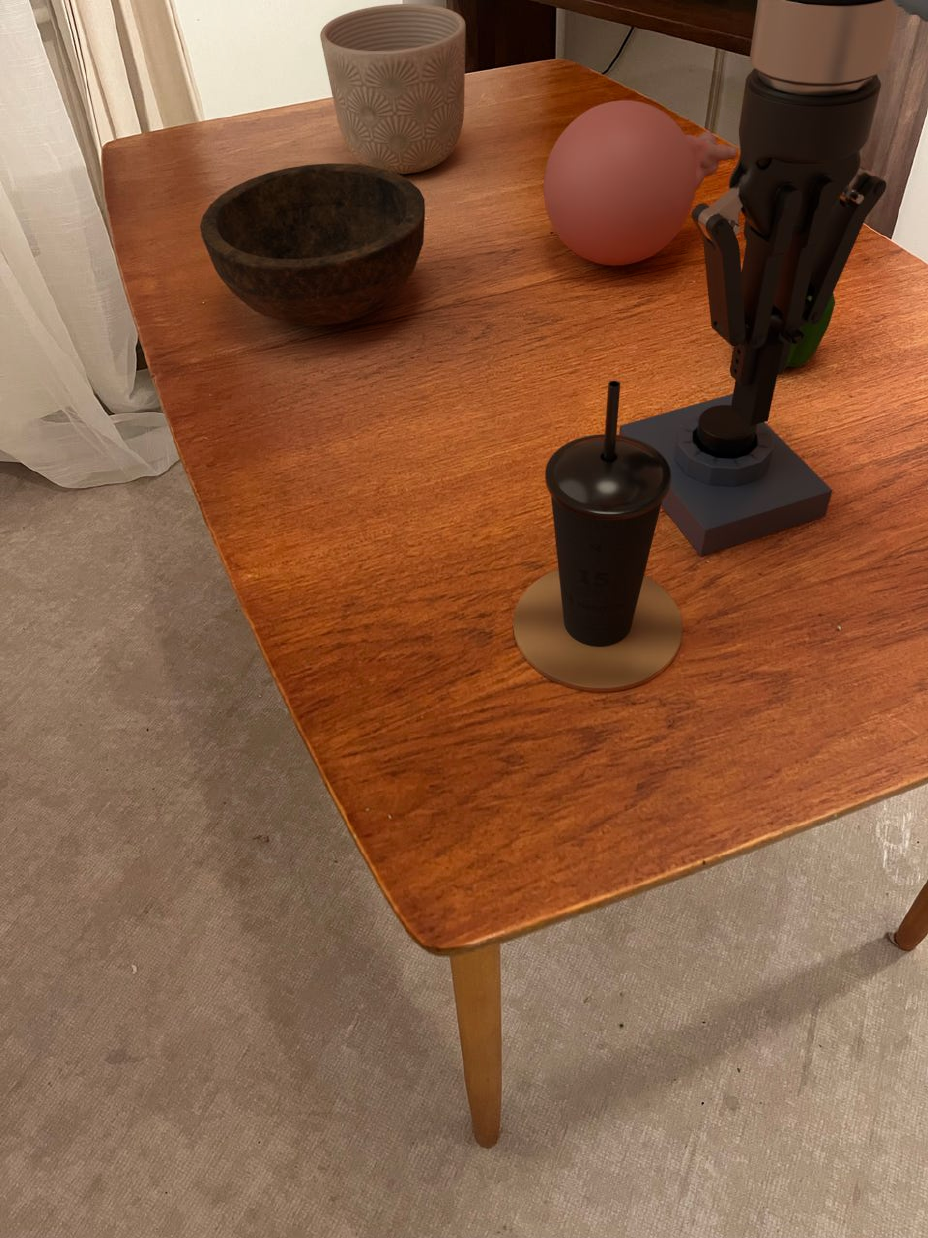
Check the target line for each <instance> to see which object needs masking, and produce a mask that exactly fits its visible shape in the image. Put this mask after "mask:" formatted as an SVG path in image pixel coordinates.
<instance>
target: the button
mask: <svg viewBox="0 0 928 1238" xmlns="http://www.w3.org/2000/svg"><path fill="white" fill-rule="evenodd" d="M756 429H757V424H756V425H752V426H750V425H749V424H748V423H747V422H746V421H745V420H744V419H743V418H742V417H741V416H740V415H739V414H738V413H737V412H736V411H735V410H734V409H733V408H732V407H731V405H718V406H713V407H710V408H708V409H706V410H705V411H704V412H703V413H702V414H701V415H700V417H699V422H698V429H697V435H696V444H697V446H698V448H699V449H700V450H701V451H702V452H704V453H706V454H709V455H711V456H713V457H716V458H727V459H736V458H739V457H742V456H745V455H747V454H748V453H749V452H750V451H751V450H752V448H753V443H754V439H755V434H756Z"/></svg>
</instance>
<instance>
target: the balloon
mask: <svg viewBox="0 0 928 1238" xmlns="http://www.w3.org/2000/svg"><path fill="white" fill-rule="evenodd" d="M738 154H739V152H738V149H737V147H734V146H731V145H726V144H719V143H717V138H716V137H715V136H714V133H713V132H712V131H704V132H702V133H701V134H700V135H698V136H694V135H693V134H686V133H685V132H684V131H683V130H682V128H681V127H680V125H679V124H678V123H677V122H676V121H675V120H674V119H673V118H672V117H671V116H670V115H668V114H667V113H666V112H664V111H663V110H661V109H659V108H657V107H656V106H653V105H651V104H649V103H646V102H642V101H638V100H637V101H636V100H630V99H629V100H627V99H623V100H620V99H619V100H612V101H607V102H603V103H601V104H599V105H596V106H593V107H591V108H590V109H587V110H586V111H584V112H583V113H580V115H578V116H577V117H575V119H573V120H572V121H571V122H570V123H569V125H567V126H566V128H564V130H562V132H561V134H560V135H559V137H558V138H557V140H556V142H555V143H554V145H553V147H552V148H551V151H550V154H549V156H548V160H547V163H546V166H545V171H544V177H543V200H544V206H545V211H546V214H547V216H548V219H549V222H550V224H551V227H552V228H553V230H554V232H555V233H556V235H557V236H558V238H559V239H560V240H561V241H562V242H563V243H564V245H565V246H567V248H568V249H570V250H571V251H572V252H573V253H575V254H577V255H578V256H579V257H580V258H583V259H585V260H586V261H589V262H592V263H595V264H599V265H603V266H615V267H616V266H617V267H618V266H625V265H626V266H627V265H631V264H635V263H638V262H642V261H644V260H646V259H649V258H651V257H652V256H654V255H655V254H657V253H659V252H660V251H662V249H664V248H665V247H666V246H667V245H669V244H670V242H672V240H674V238H675V237H676V236H677V235H678V234H679V232H680V231H681V230H682V228H683V226H684V224H685V223H686V221H687V219H688V217H689V215H690V212H691V210H692V207H693V204H694V200H695V197H696V191H697V190H699V188H700V187H701V184H702V183H704V180H705V178H706V177H710V176H713V175H715V174H716V173H717V171H718V169H719V165H720V162H723V161H728V160H735V159H736V158H737V156H738Z"/></svg>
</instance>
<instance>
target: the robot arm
mask: <svg viewBox="0 0 928 1238" xmlns="http://www.w3.org/2000/svg"><path fill="white" fill-rule="evenodd" d="M900 8H902V9H903V10H904V11H905V13H907V14H908V15H910V16H917V17H918V18H920V19H921V20H922V21H923V22H925V23H928V0H757V4H756V10H755V11H756V12H755V19H754V23H753V24H754V25H753V31H752V38H751V46H750V53H749V62H750V64H751V66H752V67H753V69H752V70H751V72H750V73H748V75H747V76H746V78H745V82H744V90H743V98H742V104H741V111H740V117H739V118H740V119H739V125H738V140H739V158H738V161H737V163H736V165H735V167H734V169H733V171H732V172H731V174H730V176H729V181H728V190H727V191H726V192H724V193H723V195H721V196H719V198H718V199H717V200H716V201H714V202H713V203H712V204H710V206H709V204H707V203H704V202H701V203H699V204H697V205H695V207H694V208H693V209H692V211H691V219H692V221H693V223H694V225H695V227H696V228H697V230H698V232H699V233H700V235H701V237H702V244H703V245H702V246H703V255H704V264H705V274H706V275H705V276H706V277H705V278H706V285H707V296H708V306H709V315H710V318H709V319H710V325H711V329H712V330H714V331H715V332H716V333H717V334H718V335H719V336H720V337H721V338H722V339H724V341H725V342H727V343H728V344H729V345H730V346H731V347H733V348H732V355H731V360H730V366H729V374H730V376H731V378H732V379H734V380H735V381H734V387H733V392H732V394H733V398H732V403H731V407H732V408H733V409H734V410H735V411H736V412H737V413H738V414H739V415H740V416H741V417H742V418H743V419H744V420H745V421H746V422H747V423H748V424H749V425H750V426H752V425H756V424H759V423H763V422H765V423H766V422H769V417H770V412H771V408H772V404H773V398H774V393H775V389H776V384H777V379H778V376H780V375H783V373H784V372H785V370H786V368H787V367H786V365H787V360H788V355H789V351H790V346H791V344H793V345H797V344H799V343H800V342H801V341H802V340H803V339H804V337H805V334H804V333H802V332H801V331H800V330H799V328H800V327H802V326H804V325H805V324H807V323H808V324H810V325H815V324H817V323H818V322H819V321H820V320H821V319H822V317H823V315H824V312H825V310H826V308H827V305H828V303H829V301H830V299H831V296H832V294H833V293H834V291H835V290H836V288H837V284H838V282H839V281H840V278H841V276H842V273H843V271H844V269H845V266H846V265H847V262H848V260H849V257H850V256H851V253H852V251H853V248H854V246H855V244H856V242H857V239H858V237H859V234H860V233H861V230H862V228H863V225H864V223H865V221H866V219H867V217H868V216H869V214H870V213H871V211H872V210H873V209H874V208H875V206H876V205H877V203H879V200H881V198H882V196H883V195H884V193H885V192H886V189H887V182H886V181H885V180H884V179H883V178H881V177H879V176H878V175H876V174H874V173H873V172H871V171H870V170H868V169H867V168H864V167H862V166H861V164H862V163H861V162H862V157H861V152H860V151H861V150H862V149H863V148H864V147H865V145H866V144H867V142H868V140H869V138H870V133H871V129H872V126H873V121H874V117H875V113H876V109H877V104H878V100H879V96H880V91H881V88H882V83H881V80H880V78H879V76H878V74H880V73H881V72H882V71H884V70H885V68H886V66H887V62H888V60H889V55H890V51H891V47H892V43H893V38H894V35H895V31H896V25H897V20H898V17H899V12H900ZM740 212H741V213H742V215H743V217H744V219H745V220H744V226H743V237H744V240H745V247H744V255H743V260H741V249H740V243H739V240H738V238H737V235H738V234H739V233H741V230H742V226H741V225H740V219H739V215H740ZM741 261H742V262H741ZM810 296H811V297H812V299H811V301H810V300H809V299H808V298H809V297H810Z"/></svg>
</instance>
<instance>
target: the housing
mask: <svg viewBox="0 0 928 1238" xmlns="http://www.w3.org/2000/svg"><path fill="white" fill-rule="evenodd" d="M732 398H733V393H730V394H727V395H723V396H720V397H716V398H712V399H708V400H705V401H702V402H699V403H694V404H691V405H687V406H684V407H681V408H676V409H673V410H670V411H666V412H663V413H660V414H656V415H652V416H649V417H646V418H642V419H638V420H635V421H631V422H628V423H625V424H620V425H619V429H618V435H621V436H627V437H631V438H634V439H637V440H640V441H642V442H644V443H646V444H648V445H650V446H652V447H653V448H655V449H656V450H657V451H658V452H660V453H661V455H662V456H663V457H664V458H665V459H666V461H667V463H668V465H669V467H670V471H671V484H670V488H669V491H668V493H667V495H666V497H665V498H664V499H663V501H662V504H661V508H662V509H663V510H664V511H665V513H666V514H667V515H668V517H669V518H670V519H671V520H672V522H673V524H675V525H676V527H677V528H678V529H679V531H680V532H681V533H682V534H683V535H684V537H685V538H686V539H687V540H688V542H689V543H690V545H691V546H692V547H693V548H694V549H695V550H696V552H697V553H698V555H700V557H703V556H706V555H710V554H712V553H716V552H719V551H722V550H725V549H728V548H731V547H735V546H737V545H738V546H739V545H741V544H744V543H747V542H750V541H754V540H756V539H759V538H763V537H766V536H769V535H772V534H775V533H779V532H782V531H785V530H788V529H791V528H794V527H797V526H800V525H803V524H806V523H809V522H812V521H816V520H820V519H822V518H825V517H826V515H827V512H828V508H829V505H830V501H831V498H832V495H833V489H832V487H830V486H829V484H827V482H825V481H824V480H823V479H822V478H821V477H820V476H819V475H818V474H817V473H816V471H814V470H813V469H812V468H811V467H810V466H809V465H808V464H807V463H806V462H805V461H804V460H803V458H801V457H800V456H799V454H798V453H796V452H795V451H794V450H793V449H792V448H791V447H790V446H789V445H788V443H786V442H785V441H784V440H783V439H782V438H781V436H779V435H778V434H777V433H776V432H775V430H773V428H771V427H770V426H769V424H767V423H766V422H763V423H759V424H757V429H756V434H755V439H754V443H753V448H752V450H751V451H750V452H749V453H748V454H747V455H745V456H742V457H739V458H736V459H727V458H716V457H713V456H711V455H709V454H706V453H704V452H702V451H701V450H700V449H699V448H698V446H697V444H696V435H697V429H698V422H699V417H700V415H701V414H702V413H703V412H704V411H705V410H706V409H708V408H710V407H713V406H718V405H731V403H732Z"/></svg>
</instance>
